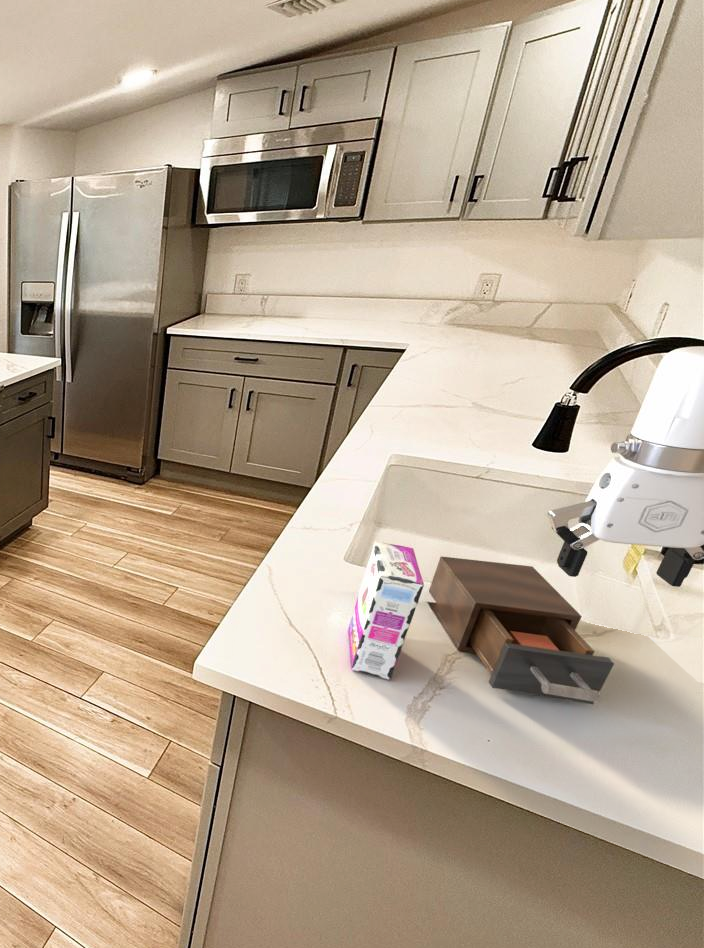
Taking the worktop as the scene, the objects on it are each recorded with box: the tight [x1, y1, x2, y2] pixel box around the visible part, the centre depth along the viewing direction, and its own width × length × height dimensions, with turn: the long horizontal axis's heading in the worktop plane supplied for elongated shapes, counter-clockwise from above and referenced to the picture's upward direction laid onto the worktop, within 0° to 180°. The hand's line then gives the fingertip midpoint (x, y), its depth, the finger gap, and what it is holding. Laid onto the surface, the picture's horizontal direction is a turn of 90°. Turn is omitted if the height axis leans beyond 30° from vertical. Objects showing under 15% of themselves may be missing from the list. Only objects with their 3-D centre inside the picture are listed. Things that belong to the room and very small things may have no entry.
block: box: [509, 631, 559, 650], centre depth 84 cm, size 4×4×4 cm
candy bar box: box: [347, 541, 425, 681], centre depth 89 cm, size 11×5×16 cm, turn 149°
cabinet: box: [426, 556, 583, 654], centre depth 93 cm, size 14×12×9 cm
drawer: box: [468, 608, 615, 705], centre depth 83 cm, size 17×10×7 cm, turn 158°
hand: (616, 576), depth 79 cm, fingers open, 9 cm apart
